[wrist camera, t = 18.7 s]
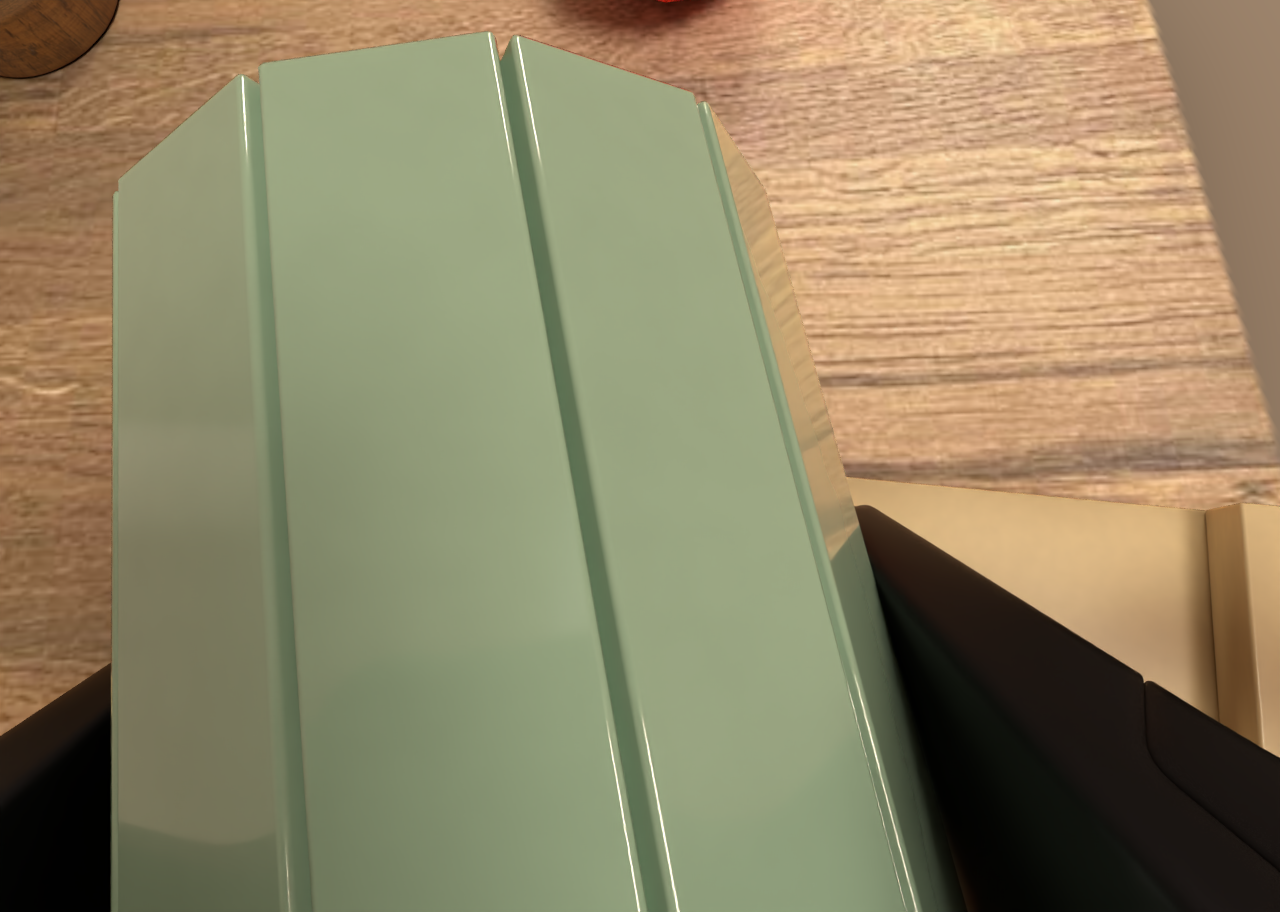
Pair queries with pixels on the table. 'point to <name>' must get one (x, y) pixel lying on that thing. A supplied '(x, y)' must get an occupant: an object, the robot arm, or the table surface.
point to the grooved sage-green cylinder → (486, 515)
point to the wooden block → (1128, 583)
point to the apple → (668, 0)
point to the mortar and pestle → (48, 33)
